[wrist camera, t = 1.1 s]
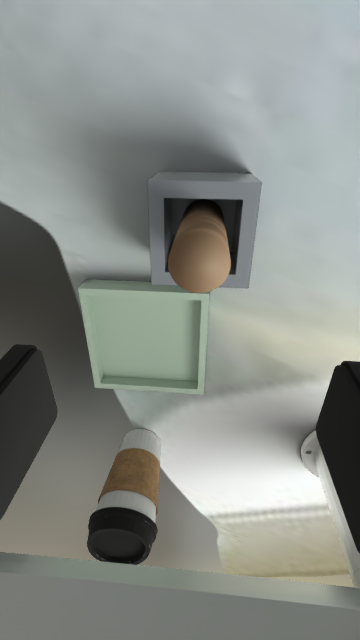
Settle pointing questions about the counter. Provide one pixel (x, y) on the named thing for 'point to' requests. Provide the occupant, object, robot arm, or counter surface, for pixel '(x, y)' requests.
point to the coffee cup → (128, 502)
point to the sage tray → (145, 335)
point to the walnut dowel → (200, 249)
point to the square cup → (220, 187)
